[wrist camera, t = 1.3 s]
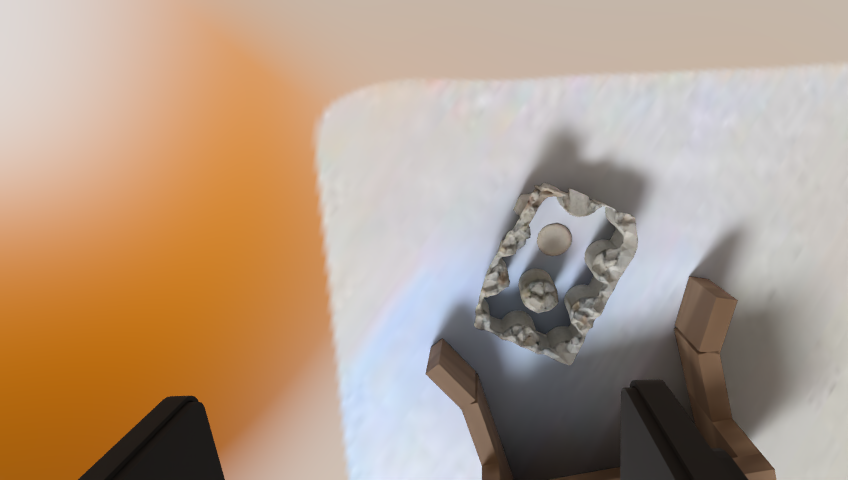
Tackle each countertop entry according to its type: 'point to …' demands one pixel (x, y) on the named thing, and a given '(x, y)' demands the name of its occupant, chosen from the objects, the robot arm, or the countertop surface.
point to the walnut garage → (700, 357)
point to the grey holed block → (538, 286)
